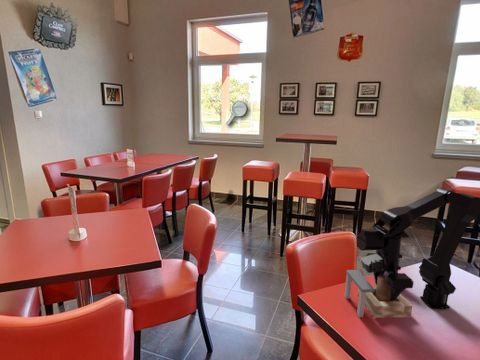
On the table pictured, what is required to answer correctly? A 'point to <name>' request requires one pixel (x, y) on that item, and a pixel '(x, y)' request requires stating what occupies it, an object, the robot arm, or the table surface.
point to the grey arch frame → (361, 284)
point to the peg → (382, 289)
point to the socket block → (387, 306)
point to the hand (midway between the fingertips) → (384, 292)
